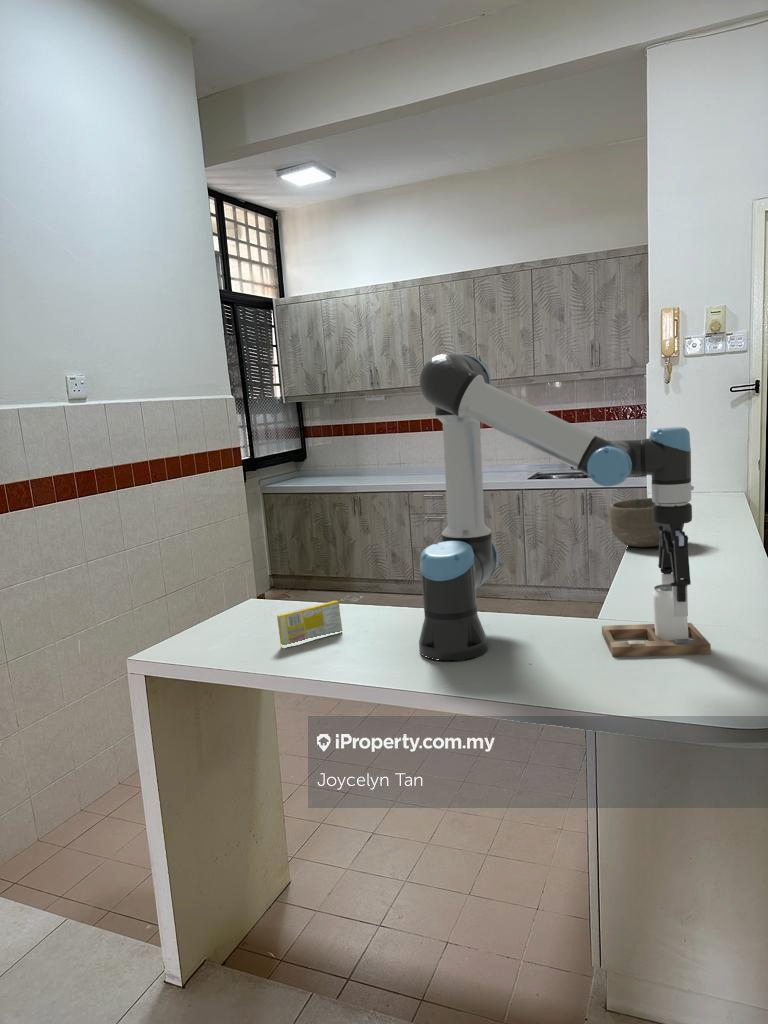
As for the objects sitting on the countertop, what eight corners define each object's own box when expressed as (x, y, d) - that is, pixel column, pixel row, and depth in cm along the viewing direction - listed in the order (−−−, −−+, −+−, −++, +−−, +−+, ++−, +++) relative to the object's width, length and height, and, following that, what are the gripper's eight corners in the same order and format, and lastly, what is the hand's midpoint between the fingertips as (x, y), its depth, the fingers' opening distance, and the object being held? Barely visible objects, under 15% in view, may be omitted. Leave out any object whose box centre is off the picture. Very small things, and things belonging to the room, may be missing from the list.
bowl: (622, 537, 259) (621, 497, 257) (692, 539, 245) (691, 497, 243) (600, 550, 240) (598, 507, 238) (675, 554, 226) (673, 508, 224)
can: (691, 646, 145) (688, 589, 143) (658, 647, 146) (654, 591, 145) (685, 637, 151) (681, 582, 150) (653, 638, 152) (649, 584, 151)
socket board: (612, 656, 144) (612, 645, 143) (602, 634, 157) (601, 624, 157) (710, 653, 141) (710, 642, 140) (691, 631, 154) (690, 620, 154)
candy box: (339, 631, 176) (335, 599, 175) (343, 633, 175) (340, 601, 173) (280, 647, 168) (276, 614, 167) (283, 649, 166) (280, 616, 165)
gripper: (706, 509, 133) (708, 624, 136) (677, 495, 154) (680, 595, 157) (665, 512, 134) (668, 625, 138) (641, 497, 155) (645, 596, 158)
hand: (674, 609), depth 147 cm, fingers open, 8 cm apart
